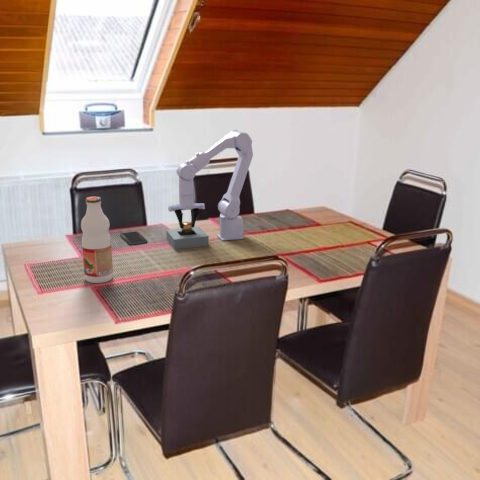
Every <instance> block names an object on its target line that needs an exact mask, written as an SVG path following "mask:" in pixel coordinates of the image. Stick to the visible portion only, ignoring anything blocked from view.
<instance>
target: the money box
mask: <svg viewBox="0 0 480 480" xmlns="http://www.w3.org/2000/svg"><path fill="white" fill-rule="evenodd" d="M165 234H166V240H167V242H168V243H169V244H170V245H171V247H172V248H173V249H174V250H178V249H179V250H181V249H191V248H200V247H209V242H210V241H209V239H210V238H209V235H208V234H207V233H206V232H205V231H204V230H203V229H202V228H201V227H200V226H194V227H193V231H192V232H182V228H180V227H178V228H168V229H166V233H165Z"/></svg>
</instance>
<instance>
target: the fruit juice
mask: <svg viewBox="0 0 480 480" xmlns="http://www.w3.org/2000/svg"><path fill="white" fill-rule="evenodd" d="M85 203H86V212H85V215H84V216H83V217H82V218H81V221H80V228H81V230H82V237H81V249H82V259H83V260H82V261H83V262H82V263H83V273H84V280H85V281H86V282H88V283H90V284H91V283H92V284H103V283H106V282H109V281H111V280H112V279H113V277H114V268H113V267H114V266H113V252H112V250H113V249H112V239H111V235H110V232H109V231H110V226H111V225H110V219H109V218H108V217H107V215H106V214H104V212H103V208H102V206H101V205H102V198H101V197H100V196H96V195H95V196H88V197H86V198H85Z"/></svg>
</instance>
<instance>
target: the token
mask: <svg viewBox="0 0 480 480" xmlns="http://www.w3.org/2000/svg"><path fill="white" fill-rule="evenodd" d="M182 223H183V228H182V232H192V231H193V226H192V223H191V221H184V222H183V221H182Z"/></svg>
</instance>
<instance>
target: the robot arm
mask: <svg viewBox="0 0 480 480" xmlns="http://www.w3.org/2000/svg"><path fill="white" fill-rule="evenodd" d="M252 144H253V140H252V138H251V136H250V135H249V134H248V133H246V132H242V131H240V130H237V129H234V130H231V131H230V132H229V133H226V134H225V135H224V136H223V137H222V138H221V139H220V140H218V141H217V142H216V143H215V144H213V145H212V146H211V147H210V148H208V149H207V150H206V151H205V152H202V151H200V152H198V151H197V152H196V153H195V155H194V156H193V157H191V158H190V159H187V160H185V162H184V163H181V164H180V165H178V167H177V169H176V174H177V176H178V204H172V205H168V206H167V210H168V212H170V213H171V212H174V214H175V216H176V218H177V220H178V224H179V228H183V217H184V216H183V215H184V213H183V211H190V217H191V218H190V219H191V221H190V222H191V223H192V226H193V227H196V226H195V225H196V221H197V219H198V216H199V214H200V210H205V209H206V206H205V205H206V204H205V203H204V202H203V203H197V202H196V203H194V202H195V201H194V194H195V193H194V178H195V176H196V174H197V173H198V172H200V171H202V170H203V169H204V168H205V167H207V166H208V165H209V164H210V161H211V159H212V158H214V157H216V156H217V155H219V154H220V153H222V152H223V151H225V150H226V149H234V150H235V151H236V154H237V155H238V158H237V160H236V164H235V167H234V170H233V173H232V176H231V178H230V181H229V185H228V188H227V191H226V192H225V193H224V194H223V195H222V198H221V200H220V201H219V202H218V204H217V209H218V211H219V213H220V214H219V233H218V234H216V236H217V237H218V238H219V239H220V240H221V241H232V240H233V241H234V240H244V220H243V217H242V216H241V215H240V210H241V209H240V206H241V199H240V196H241V192H242V189H243V186H244V183H245V180H246V178H247V174H248V172H249V168H250V166H251V162H252V160H253V157H254V152H253V146H252Z"/></svg>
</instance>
